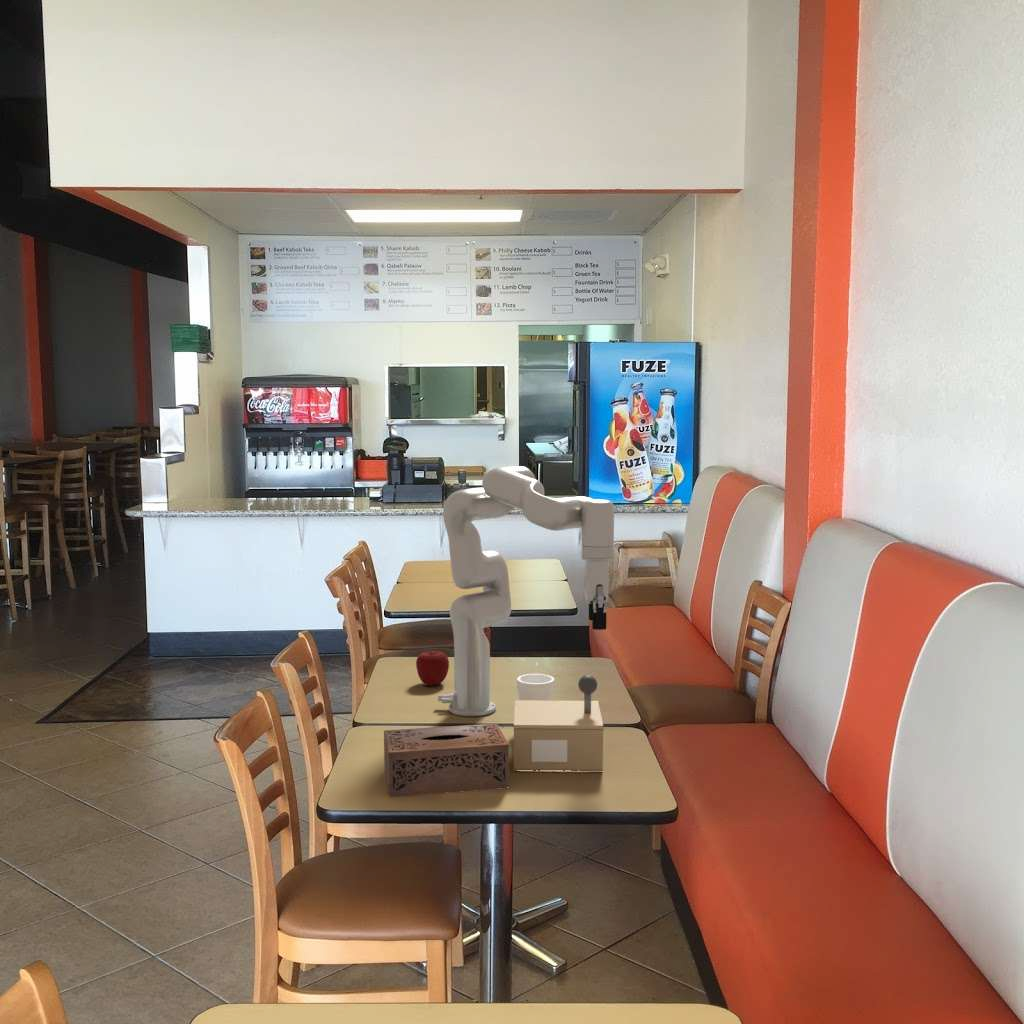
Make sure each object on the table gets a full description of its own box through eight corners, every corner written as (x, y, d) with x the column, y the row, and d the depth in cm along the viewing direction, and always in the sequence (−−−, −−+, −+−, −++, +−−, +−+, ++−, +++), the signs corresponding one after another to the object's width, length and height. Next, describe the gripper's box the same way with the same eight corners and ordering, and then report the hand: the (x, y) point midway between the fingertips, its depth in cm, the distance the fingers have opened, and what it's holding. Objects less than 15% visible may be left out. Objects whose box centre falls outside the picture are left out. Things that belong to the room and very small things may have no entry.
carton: (513, 772, 229) (513, 729, 228) (515, 744, 247) (515, 704, 246) (602, 772, 229) (603, 729, 228) (597, 745, 247) (597, 705, 246)
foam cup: (535, 720, 266) (535, 671, 264) (561, 728, 259) (561, 678, 258) (509, 728, 259) (509, 678, 257) (535, 737, 252) (535, 686, 251)
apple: (420, 679, 304) (420, 646, 302) (452, 680, 302) (451, 647, 301) (413, 688, 294) (412, 654, 293) (445, 689, 293) (445, 655, 292)
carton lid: (513, 728, 228) (513, 686, 227) (515, 703, 246) (515, 664, 245) (603, 728, 228) (603, 686, 226) (597, 704, 246) (598, 664, 245)
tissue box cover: (497, 765, 234) (497, 723, 233) (508, 789, 220) (508, 744, 219) (384, 773, 229) (383, 730, 228) (389, 798, 215) (388, 752, 214)
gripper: (578, 547, 246) (578, 616, 248) (584, 558, 229) (584, 633, 231) (609, 547, 246) (609, 616, 248) (617, 558, 229) (617, 633, 231)
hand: (597, 624), depth 239 cm, fingers open, 9 cm apart
